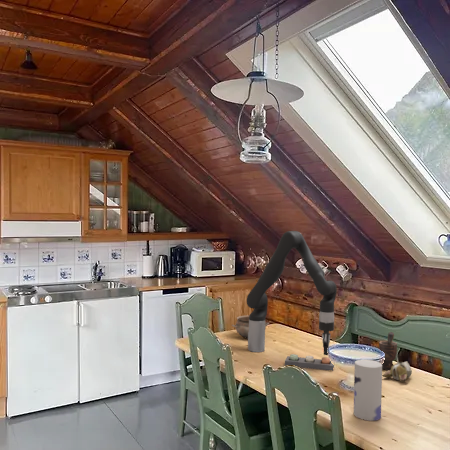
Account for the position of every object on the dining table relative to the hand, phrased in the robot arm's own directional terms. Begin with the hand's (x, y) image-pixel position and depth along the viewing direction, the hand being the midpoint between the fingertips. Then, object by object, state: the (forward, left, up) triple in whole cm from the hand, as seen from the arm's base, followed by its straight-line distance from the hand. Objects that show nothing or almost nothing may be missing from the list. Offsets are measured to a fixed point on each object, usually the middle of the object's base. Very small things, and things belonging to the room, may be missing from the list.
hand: (325, 354), depth 238 cm
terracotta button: (0, 0, -5) cm, 5 cm away
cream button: (-6, -6, -5) cm, 9 cm away
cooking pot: (-68, -3, -7) cm, 68 cm away
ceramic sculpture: (+29, +20, -7) cm, 36 cm away
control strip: (-6, -6, -6) cm, 10 cm away
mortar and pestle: (+16, +27, -7) cm, 32 cm away
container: (+53, -26, -7) cm, 59 cm away
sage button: (-11, -11, -5) cm, 17 cm away
